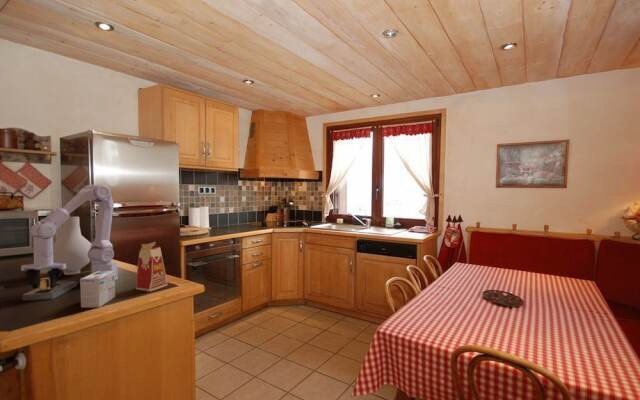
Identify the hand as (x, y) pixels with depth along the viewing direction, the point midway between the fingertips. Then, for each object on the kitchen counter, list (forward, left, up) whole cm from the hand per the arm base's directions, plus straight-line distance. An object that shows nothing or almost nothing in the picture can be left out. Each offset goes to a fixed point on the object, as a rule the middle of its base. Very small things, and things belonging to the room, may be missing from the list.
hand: (44, 287), depth 125 cm
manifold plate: (0, -4, -3) cm, 5 cm away
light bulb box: (-24, +10, -4) cm, 26 cm away
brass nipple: (0, 0, -3) cm, 3 cm away
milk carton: (-37, -6, -4) cm, 38 cm away
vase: (+9, -35, -4) cm, 36 cm away
